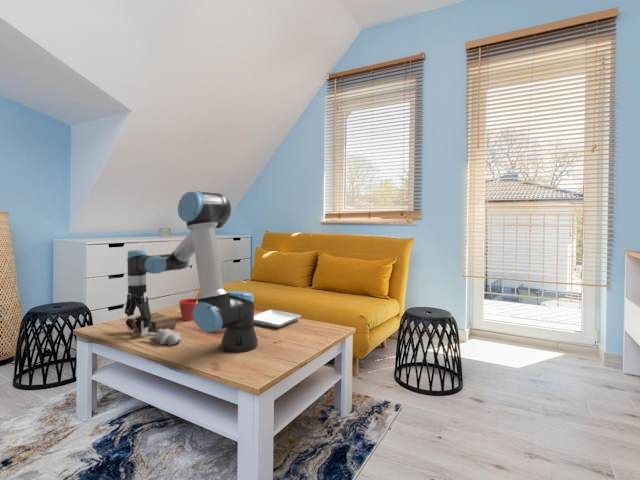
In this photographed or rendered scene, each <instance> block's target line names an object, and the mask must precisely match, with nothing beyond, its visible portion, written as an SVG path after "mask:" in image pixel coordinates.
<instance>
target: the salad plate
mask: <svg viewBox="0 0 640 480" xmlns="http://www.w3.org/2000/svg"><path fill="white" fill-rule="evenodd" d="M301 317H302V315H301V314H296V313H292V312H286V311H283V310H275V309H267V310H266V311H262V312H260V313H256V314H254V324H256V325H261V326H265V327H271V328H281V327H284V326H286V325H289V324H291V323H293V322H296V321H297V320H299V319H301Z"/></svg>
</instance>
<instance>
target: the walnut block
mask: <svg viewBox="0 0 640 480" xmlns="http://www.w3.org/2000/svg"><path fill="white" fill-rule="evenodd" d="M150 314H151V319H150V320H151V323H152V326H151V327H150V328H149V329H148V332H153V333H157V332H158V331H157V330H158V329H162V330H164V329H170V330H171V331H172V330H175V329H176V318H175V317H172V316H169V315H165V314H162V313H158V312H154V313H150ZM148 322H149V321H148Z"/></svg>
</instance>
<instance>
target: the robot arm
mask: <svg viewBox="0 0 640 480" xmlns="http://www.w3.org/2000/svg"><path fill="white" fill-rule="evenodd" d="M177 214H178V217H179V218H180V219H181V220H182V221H183V222H185V223H186V228H187V229H188V230H189V231H190V232H189V233H188V234H187V235H186V236H185V238H183V240H182V241H181V242H180V244H178V246H176V248H175V249H174V250H173V251H172V252H171V253H169V254H168V253H167V254H166V253H165V254H157V255H148V254H147V251H146V250H145V249H132V250H131V249H130V250H128V251H127V259H126V261H127V262H126V263H127V264H126V266H127V284H128V285H127V294H126V303H125V309H124V314H125V315H126V316H127V319H135V311H136V308H138V310H139V313H140V316H141V317H142V320H141V332H140V333H141V336H145V335H146V336H147V333H148V332H149V331H148V320H149V319H151V314H152V313H151V310H150V304H149V297H148V296H145V295H144V294H145V293H146V292H147V273H149V274H153V275H155V274H162V272H163V273H164V272H168V271H169V272H170V271H179V270H183V269H186V268H188V267H189V265H190V263H191V262H190V261H191V260H190V259H191V258H192V257H193V255H195V262H196V268H197V275H198V282H199V291H200V293H199V294H198V296H197V298H196V299H198V303H197V304H196V305H195V307H194V310H193V318H194V320H193V321H194V323H195V324H196V326H197V328H199V329H200V330H201V331H203V332H206V333H211V332H215V331H216V332H217V331H220V330H221V329H224V328H225V329H224V333H223V335H222V339H221V341H220V348H221V349H222V350H223V351H226V352H230V353H243V352H248V351H252V350H254V349H257V347H258V346H259V344H258V338H257V334H256V330H255V326H254V324H255V323H254V315H255V303H256V302H255V296H254V294H253V293H251V292H248V291H242V290H241V291H239V290H228V291H227V290H225V289H224V284H223V283H224V282H223V276H222V271H221V270H222V268H221V264H220V255H219V249H218V244H217V243H218V242H217V237H216V230H218V229H221V228H222V227H224V225H225V224H226V223H227V222H228V221H229V219H230V216H231V214H232V205H231V202H230V200H229V199H228V198H227V197H226V196H225V195H223V194H221V193H218V192H217V193H216V192H206V191H201V190H200V191H199V190H198V191H194V190H193V191H188V192H186V193H184V194H182V196H181V197H180V199H179V201H178V205H177ZM127 331H132V330H131V329H130V328H129V327H128V326H127Z"/></svg>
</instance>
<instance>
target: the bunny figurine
mask: <svg viewBox="0 0 640 480" xmlns="http://www.w3.org/2000/svg"><path fill="white" fill-rule="evenodd" d="M157 331H158V332H157V333H153V332H150V331H148V333H147V334H146V337H154V338H155V339H156V341H157V342H158V343H159V344H160V345H162V344H163V345H164V344H167V345H168V346H173V345H177V344H179V343H181V342H182V337H181V335H180V334H181V333H180V332H176V331H175V332H174V331H172V330H170V329H164V330H162V329H158V330H157Z"/></svg>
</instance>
